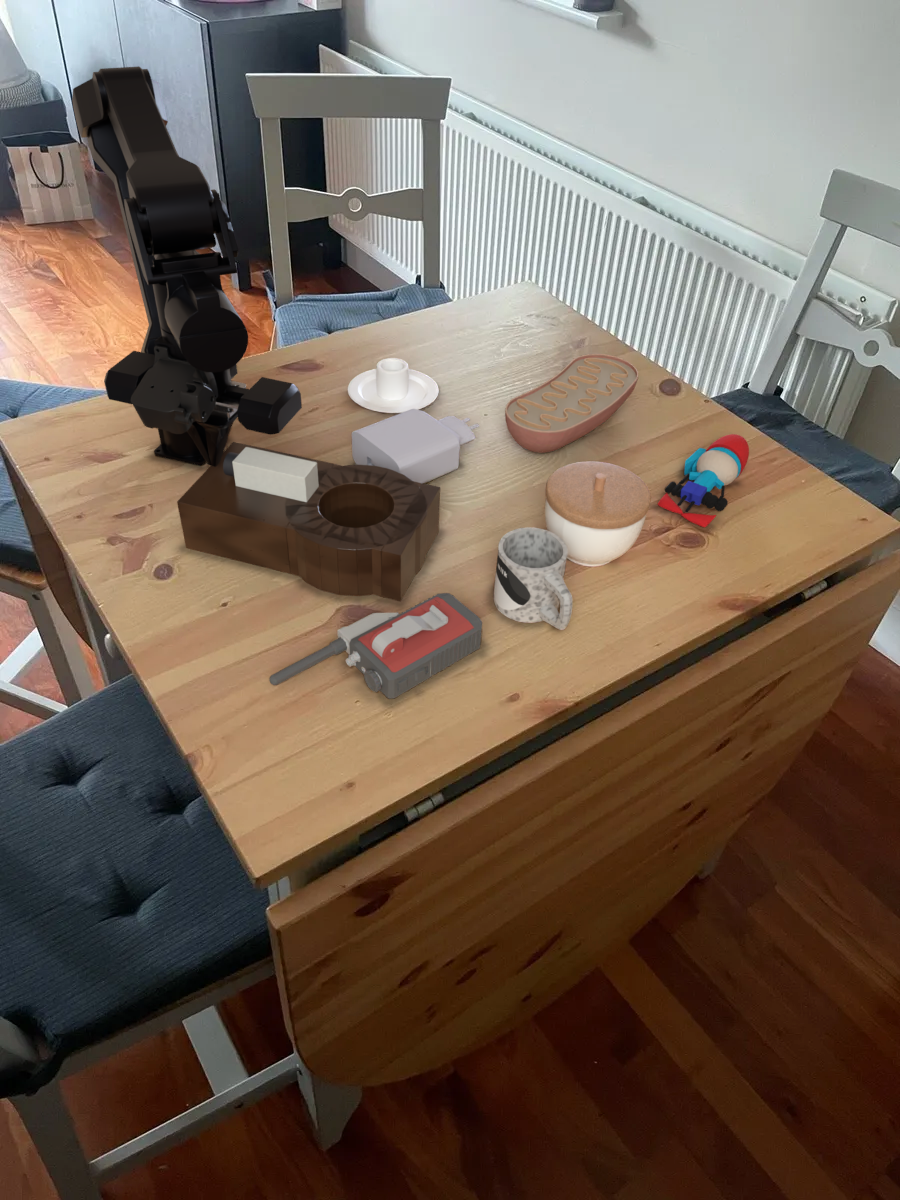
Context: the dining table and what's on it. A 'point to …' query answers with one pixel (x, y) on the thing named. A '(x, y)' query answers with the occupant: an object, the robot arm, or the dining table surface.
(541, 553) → the mug
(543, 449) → the anatomical model
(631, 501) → the trinket box
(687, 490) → the toy figure
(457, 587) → the dining table surface
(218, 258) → the robot arm
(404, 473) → the charger
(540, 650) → the dining table surface
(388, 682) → the walkie-talkie
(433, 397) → the candle holder
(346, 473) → the wooden desk organizer
